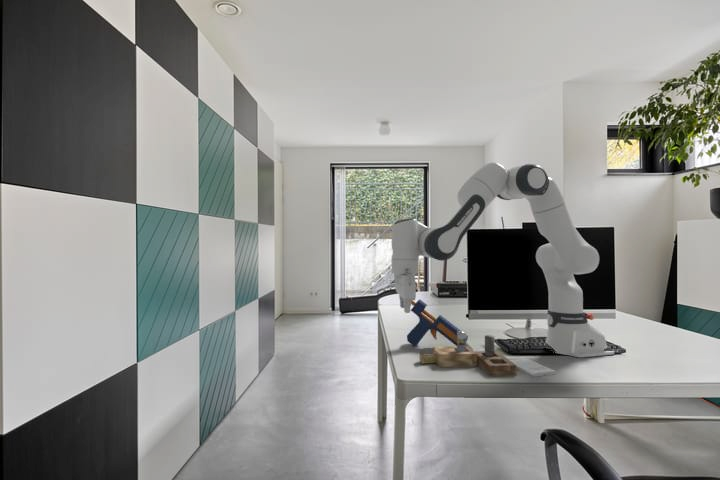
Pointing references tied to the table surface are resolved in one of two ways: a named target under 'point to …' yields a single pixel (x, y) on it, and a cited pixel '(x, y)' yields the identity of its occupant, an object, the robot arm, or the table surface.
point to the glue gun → (431, 326)
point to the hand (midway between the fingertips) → (405, 310)
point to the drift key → (428, 358)
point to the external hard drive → (532, 367)
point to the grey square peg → (461, 341)
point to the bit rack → (494, 360)
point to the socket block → (455, 357)
